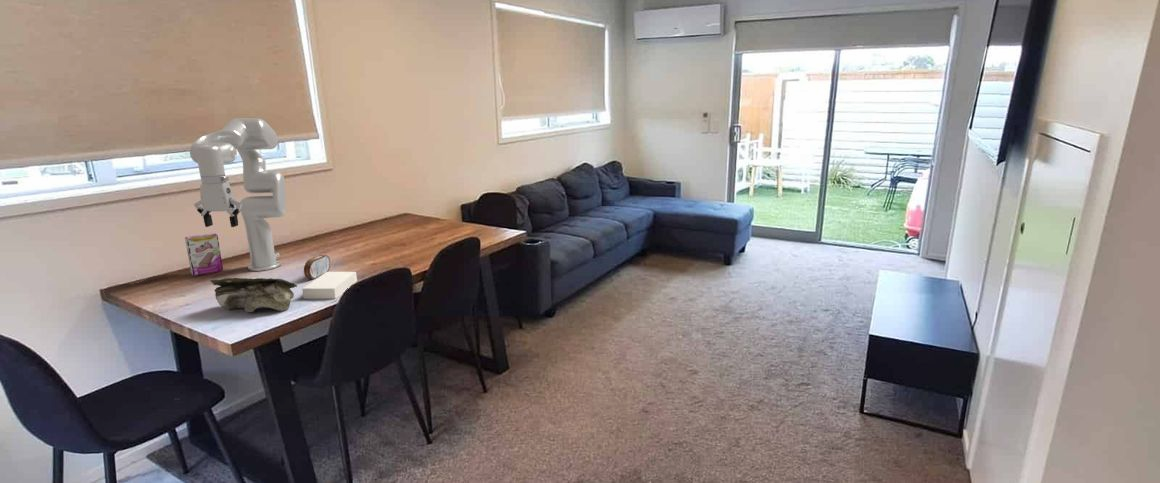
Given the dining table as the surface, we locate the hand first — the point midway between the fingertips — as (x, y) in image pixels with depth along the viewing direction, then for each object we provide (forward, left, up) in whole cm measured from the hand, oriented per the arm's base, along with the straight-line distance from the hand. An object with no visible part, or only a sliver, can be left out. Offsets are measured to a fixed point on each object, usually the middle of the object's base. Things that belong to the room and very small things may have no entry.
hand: (221, 226), depth 202 cm
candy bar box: (-28, -29, -27) cm, 48 cm away
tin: (-24, +21, -27) cm, 42 cm away
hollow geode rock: (+12, +16, -27) cm, 34 cm away
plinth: (-7, +34, -27) cm, 44 cm away
